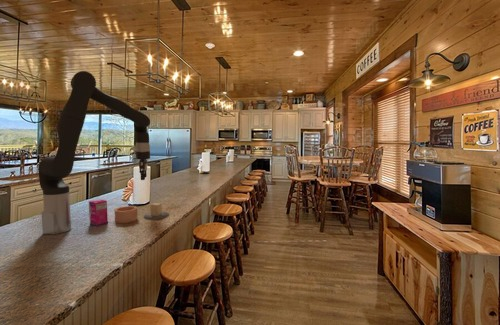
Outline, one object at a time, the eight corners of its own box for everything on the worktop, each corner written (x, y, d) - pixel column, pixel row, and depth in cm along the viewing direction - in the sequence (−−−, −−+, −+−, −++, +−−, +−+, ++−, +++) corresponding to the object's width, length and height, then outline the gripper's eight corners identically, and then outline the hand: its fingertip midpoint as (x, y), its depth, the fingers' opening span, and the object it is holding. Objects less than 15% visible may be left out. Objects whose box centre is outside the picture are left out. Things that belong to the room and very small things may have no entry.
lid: (161, 220, 126) (160, 207, 126) (138, 219, 129) (138, 206, 128) (173, 213, 139) (173, 201, 139) (152, 212, 142) (152, 200, 141)
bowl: (128, 224, 120) (128, 212, 120) (110, 222, 122) (110, 210, 122) (141, 217, 130) (140, 206, 130) (124, 216, 132) (123, 205, 131)
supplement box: (89, 224, 119) (88, 201, 118) (101, 221, 124) (100, 198, 123) (96, 226, 116) (95, 202, 115) (108, 223, 121) (107, 200, 120)
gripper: (137, 149, 145) (138, 176, 146) (133, 151, 131) (134, 181, 133) (151, 149, 147) (151, 176, 149) (148, 151, 133) (149, 180, 135)
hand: (143, 178), depth 141 cm, fingers open, 8 cm apart
